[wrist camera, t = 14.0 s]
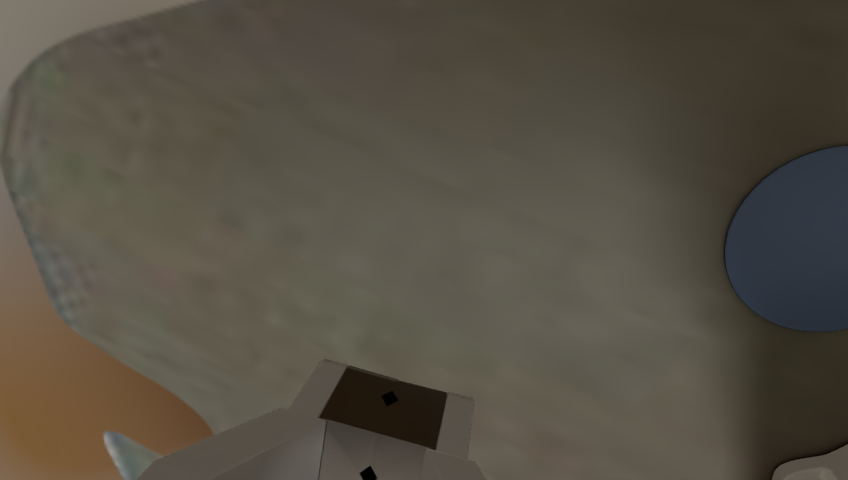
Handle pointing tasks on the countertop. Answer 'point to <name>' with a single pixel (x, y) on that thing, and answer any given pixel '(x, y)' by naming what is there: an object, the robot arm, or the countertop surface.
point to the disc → (795, 244)
